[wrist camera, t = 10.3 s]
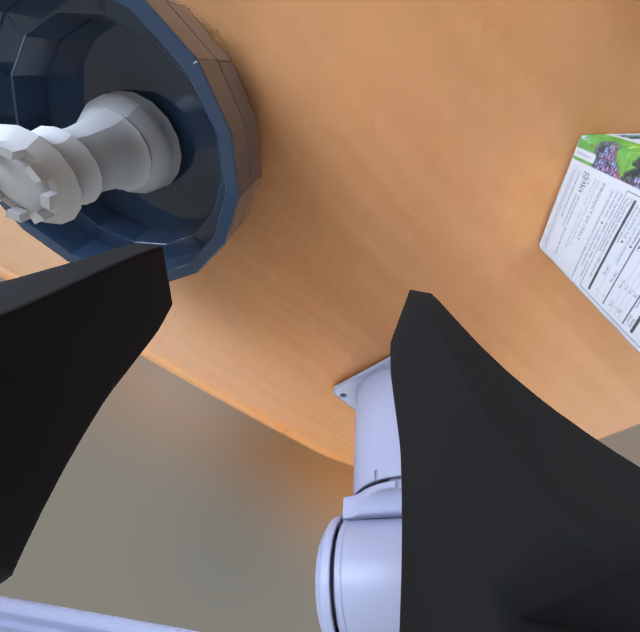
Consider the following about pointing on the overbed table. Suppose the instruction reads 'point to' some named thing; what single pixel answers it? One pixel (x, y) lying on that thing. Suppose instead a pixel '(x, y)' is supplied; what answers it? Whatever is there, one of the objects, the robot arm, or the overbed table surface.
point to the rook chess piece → (86, 158)
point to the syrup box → (601, 228)
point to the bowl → (153, 84)
